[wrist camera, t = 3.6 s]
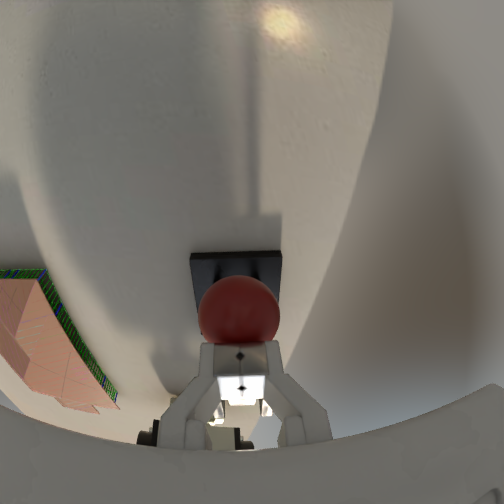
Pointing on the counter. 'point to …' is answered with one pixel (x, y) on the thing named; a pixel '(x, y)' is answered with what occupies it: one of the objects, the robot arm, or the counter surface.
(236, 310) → the lever
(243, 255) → the bracket
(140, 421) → the counter surface
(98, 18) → the counter surface
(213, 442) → the ball valve
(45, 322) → the house
